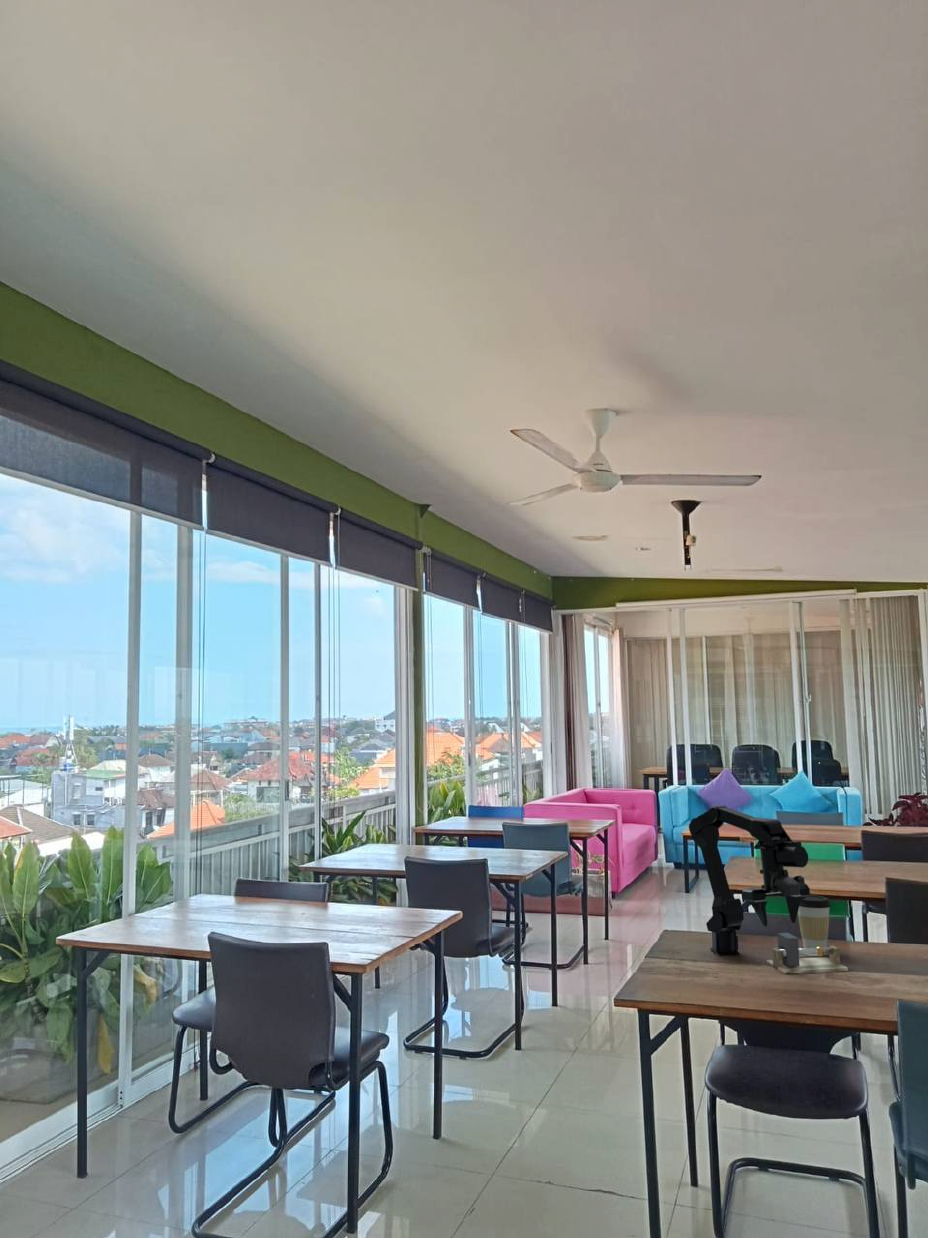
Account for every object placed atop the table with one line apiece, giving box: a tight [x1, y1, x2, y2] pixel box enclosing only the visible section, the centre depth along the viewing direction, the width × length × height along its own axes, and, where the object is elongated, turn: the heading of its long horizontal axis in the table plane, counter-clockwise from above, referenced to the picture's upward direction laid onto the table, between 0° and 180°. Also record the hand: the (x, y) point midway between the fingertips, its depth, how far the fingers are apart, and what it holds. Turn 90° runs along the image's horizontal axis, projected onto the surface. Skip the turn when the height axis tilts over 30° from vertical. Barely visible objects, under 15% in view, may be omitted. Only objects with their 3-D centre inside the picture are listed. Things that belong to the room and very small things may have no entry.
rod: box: [772, 946, 834, 957], centre depth 253 cm, size 18×2×2 cm, turn 97°
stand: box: [766, 945, 849, 974], centre depth 253 cm, size 18×11×5 cm, turn 97°
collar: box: [777, 932, 800, 967], centre depth 252 cm, size 3×6×7 cm, turn 7°
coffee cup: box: [797, 894, 832, 948], centre depth 270 cm, size 10×10×15 cm
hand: (779, 924), depth 251 cm, fingers open, 9 cm apart
